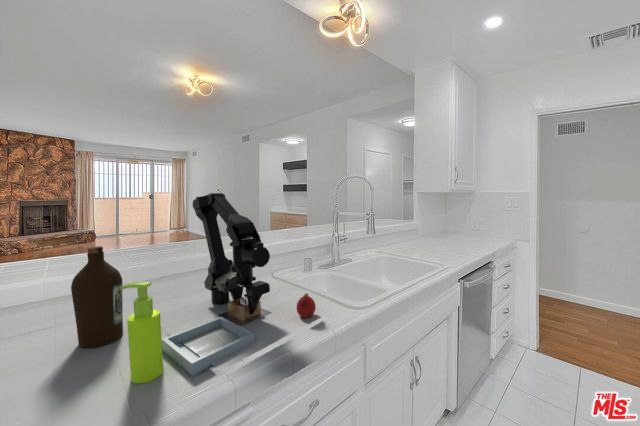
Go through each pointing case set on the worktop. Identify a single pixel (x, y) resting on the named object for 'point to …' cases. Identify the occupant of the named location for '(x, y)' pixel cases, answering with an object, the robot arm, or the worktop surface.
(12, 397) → the worktop surface
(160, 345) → the soap dispenser
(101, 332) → the olive oil
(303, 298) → the onion
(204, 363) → the light blue frame
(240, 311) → the open wooden box frame
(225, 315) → the stake base
